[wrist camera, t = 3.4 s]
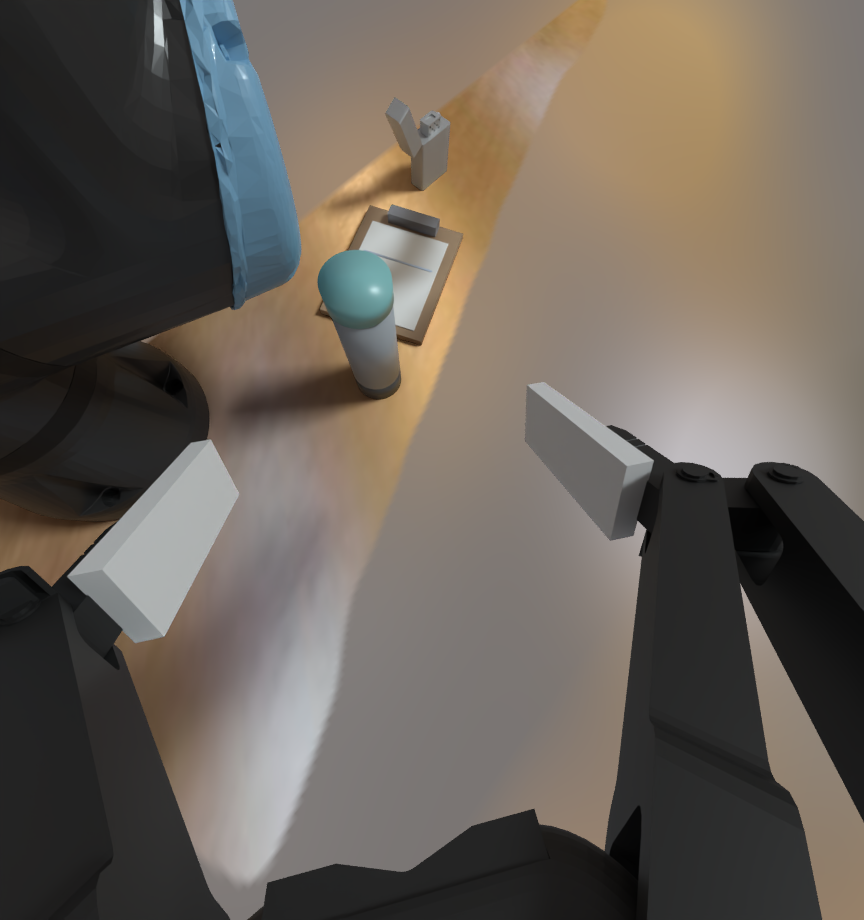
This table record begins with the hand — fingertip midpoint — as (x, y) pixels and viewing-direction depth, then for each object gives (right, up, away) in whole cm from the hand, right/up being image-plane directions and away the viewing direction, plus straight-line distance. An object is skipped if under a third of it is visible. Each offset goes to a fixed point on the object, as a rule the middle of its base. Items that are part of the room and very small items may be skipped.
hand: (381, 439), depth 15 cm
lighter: (+1, +29, +22) cm, 36 cm away
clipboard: (-2, +17, +19) cm, 26 cm away
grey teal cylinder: (-3, +7, +17) cm, 18 cm away
